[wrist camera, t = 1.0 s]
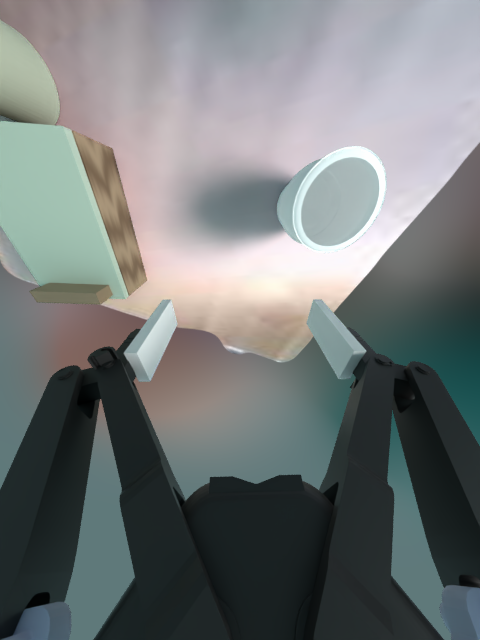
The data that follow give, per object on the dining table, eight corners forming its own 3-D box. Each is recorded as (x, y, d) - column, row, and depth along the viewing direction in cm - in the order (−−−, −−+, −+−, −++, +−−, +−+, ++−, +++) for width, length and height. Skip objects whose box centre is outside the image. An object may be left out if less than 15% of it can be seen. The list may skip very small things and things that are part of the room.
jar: (273, 241, 36) (294, 260, 23) (268, 178, 30) (291, 160, 17) (325, 229, 35) (375, 243, 22) (330, 162, 29) (402, 131, 17)
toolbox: (19, 141, 27) (-53, 120, 20) (112, 148, 27) (73, 130, 21) (84, 277, 39) (53, 292, 32) (147, 280, 40) (129, 295, 33)
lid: (-56, 119, 20) (-128, 98, 16) (71, 129, 20) (32, 112, 16) (52, 293, 32) (26, 305, 28) (128, 296, 33) (114, 308, 29)
